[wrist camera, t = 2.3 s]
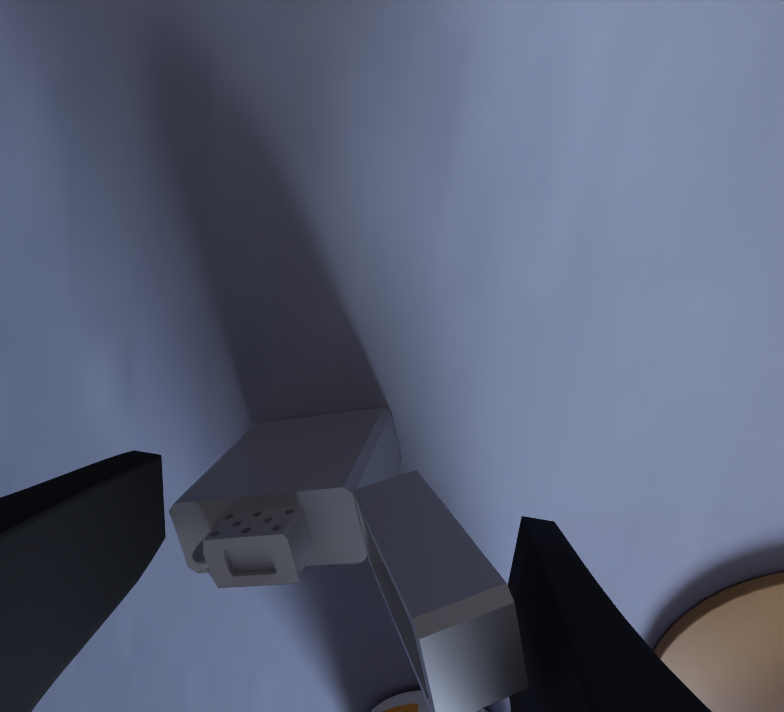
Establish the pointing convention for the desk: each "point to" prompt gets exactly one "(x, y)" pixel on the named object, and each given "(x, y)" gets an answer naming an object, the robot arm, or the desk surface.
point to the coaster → (732, 647)
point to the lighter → (359, 544)
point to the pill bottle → (407, 703)
